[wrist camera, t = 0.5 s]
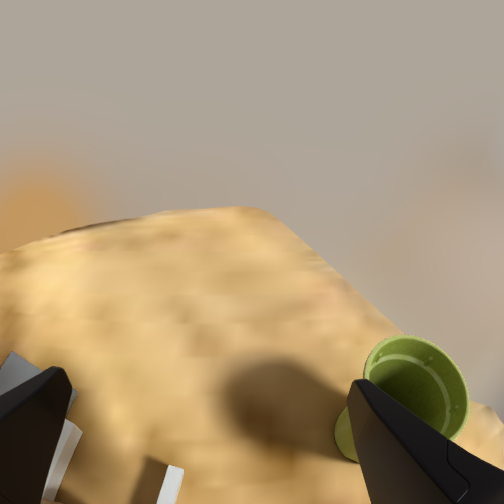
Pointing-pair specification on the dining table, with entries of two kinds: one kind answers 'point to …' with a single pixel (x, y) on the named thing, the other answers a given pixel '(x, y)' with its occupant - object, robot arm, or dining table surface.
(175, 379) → the dining table surface
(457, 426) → the plant pot
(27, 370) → the slate coaster
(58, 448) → the channel
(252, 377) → the dining table surface
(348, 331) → the dining table surface
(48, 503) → the walnut block
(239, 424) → the dining table surface
